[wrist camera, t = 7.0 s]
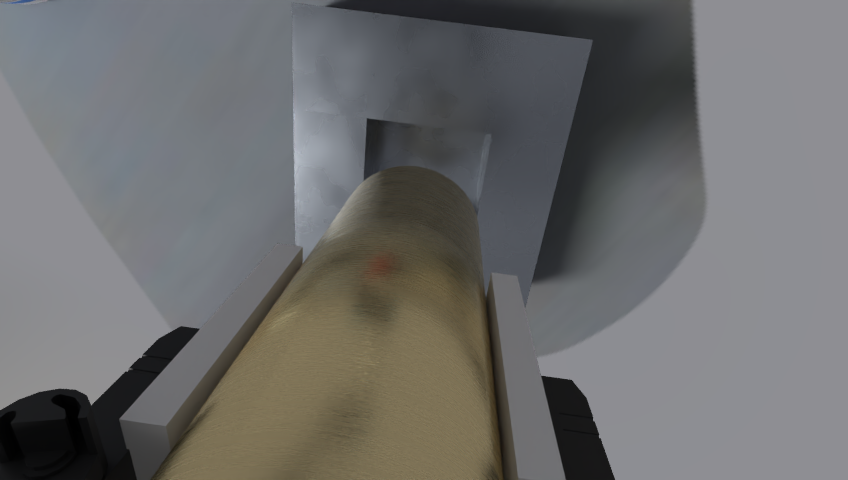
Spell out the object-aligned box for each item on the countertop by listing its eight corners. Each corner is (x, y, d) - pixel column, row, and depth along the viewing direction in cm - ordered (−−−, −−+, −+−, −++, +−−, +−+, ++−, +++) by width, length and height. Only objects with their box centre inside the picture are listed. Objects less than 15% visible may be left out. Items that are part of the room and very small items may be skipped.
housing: (320, 8, 24) (291, 2, 20) (570, 39, 24) (593, 39, 20) (317, 260, 31) (296, 294, 27) (512, 287, 31) (520, 325, 27)
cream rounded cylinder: (344, 156, 17) (62, 441, 5) (490, 175, 16) (565, 515, 5) (340, 282, 19) (143, 678, 7) (467, 299, 19) (479, 731, 7)
